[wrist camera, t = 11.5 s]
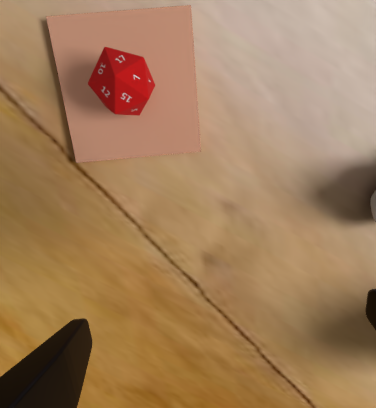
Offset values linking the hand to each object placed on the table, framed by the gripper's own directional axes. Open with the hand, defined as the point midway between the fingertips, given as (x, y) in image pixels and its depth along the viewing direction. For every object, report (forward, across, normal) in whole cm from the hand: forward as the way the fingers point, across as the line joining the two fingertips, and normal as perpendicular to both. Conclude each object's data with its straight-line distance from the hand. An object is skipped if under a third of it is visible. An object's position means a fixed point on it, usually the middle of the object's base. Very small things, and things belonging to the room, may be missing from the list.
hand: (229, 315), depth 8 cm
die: (+12, +4, -9) cm, 15 cm away
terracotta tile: (+12, +4, -9) cm, 16 cm away
